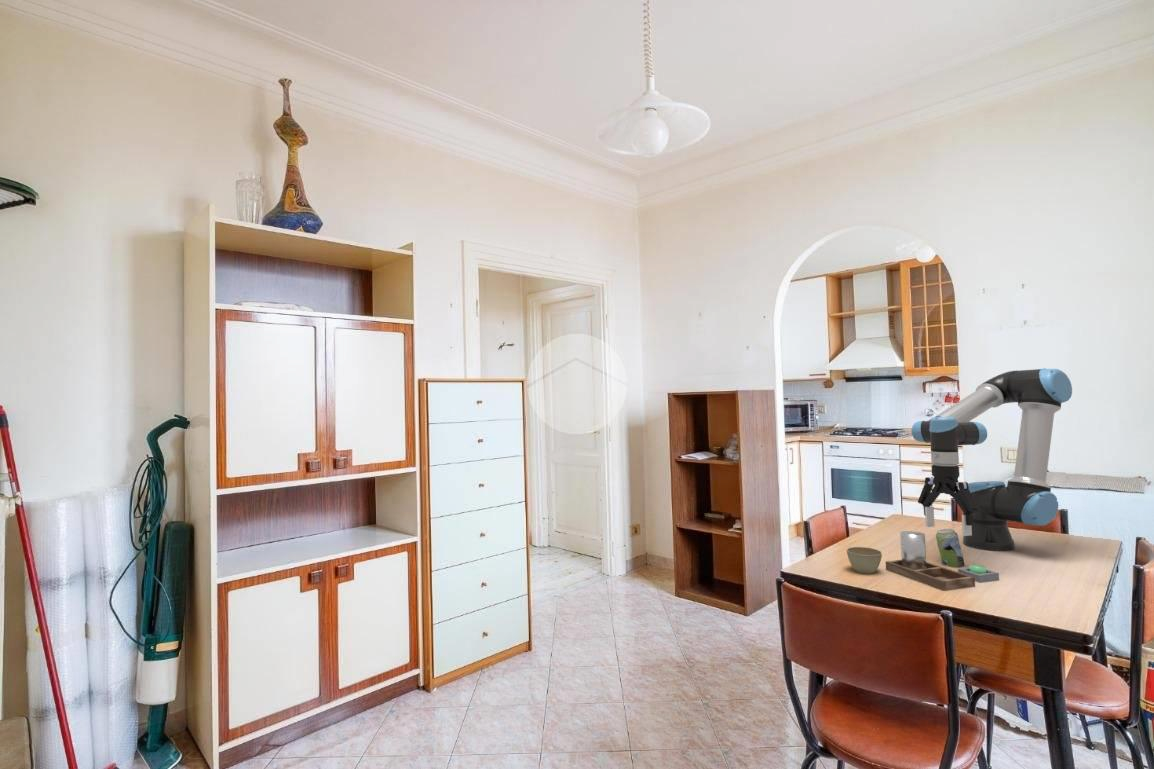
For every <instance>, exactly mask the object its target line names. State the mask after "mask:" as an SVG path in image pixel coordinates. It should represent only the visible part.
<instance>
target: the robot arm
mask: <svg viewBox="0 0 1154 769" xmlns="http://www.w3.org/2000/svg"><path fill="white" fill-rule="evenodd" d="M1072 385H1073V384H1072V382H1071V380H1070V378H1069V376H1068V374H1066V373H1065V371H1063V370H1061V369H1058V368H1045V367H1043V368H1037V369H1036V368H1035V369H1024V370H1010V371H1006V372H1003V373H999V374H998V375H996V376H993V377H992V378H989V379H988V380H985V381H984V382H982V383H981V384H979V385H978V386H977V387H976V389H975V391H973V392H972V393H971V394H969V395H967V396H966V397H964V398H962V399H960V400H959V401H958V402H956V403H954V404H953V405H951V406H950V407H948V408H946V409H945V410H943V411H941V412H940V413H939V414H936V415H935V416H933V417H931V418H930V419H929V420H922V421H921V420H919V421H915V422H914V423H913V425H912V426H911V435H912V438H913V439H914V441H916V442H919V443H920V442H921V443H926V444H930V457H931V458H930V461H931V463H932V465H931V476H929V477H925V478H924V485H923V488H922V490H921V493H920V495H919V497H918V500H917V503H918V504H921V506H923V515H924V516H925V527H927V528H930V527H933V528H934V527H935V510H934V509H935V508H934V502H935V501H936V500H937V498H938V497H939V496H940V495H941V494H945V495H949V496H950V497H952V498H953V500H954V501H955V503H956V504H957V505H958V507H959V508H960V510H961V511H962V514H961V529H962V530H961V531H962V542H963V545H965V546H966V547H967V546H968V547H972V548H974V549H978V550H979V549H980V550H988V551H1011V550H1014V549H1015V548H1016V547H1015V540H1014V538H1013V536H1012V534H1011V532H1010V529H1009V526H1008V521H1010V522H1015V523H1021V524H1025V525H1027V526H1040V527H1041V526H1047V525H1048V524H1050V523H1051V522H1053V521H1054V519H1055V518H1056V516H1057V515H1058V514H1057V513H1058V510H1059V501H1058V498H1057V496H1056V495H1055V494H1054V493H1052V492H1051V489H1052V487H1051V486H1050V485H1049V484H1048V483H1047V474H1048V473H1047V472H1048V468H1049V460H1050V458H1049V457H1050V450H1051V445H1052V444H1051V443H1052V435H1053V428H1054V417H1055V414H1056V413H1057V412H1059V411H1060V410H1061V409H1062V407H1061V406H1062V403H1067V402H1068V401H1069V400H1070V399H1071V397H1072V395H1073V386H1072ZM1013 403H1017V406H1018V407H1019V408H1020V409H1021V410H1022V411H1021V420H1020V427H1019V434H1018V443H1017V451H1016V457H1015V464H1014V465H1015V466H1014V473H1013V477H1012V478H1010V479H1009V480H1007V482H1006V483H1007V484H1005V482H1004V481H1001V480H999V481H996V480H995V481H993V480H992V481H991V480H990V481H975V482H969V483H968V482H967V481H962V482H961V481H959V478H960V466H959V464H960V459H959V458H960V457H959V446H976V445H981V444H983V443H984V442H985V441H987V437H988V431H987V428H986V426H985V425H984V424H982V423H980V422H978V421H972V420H974V419H976V418H977V417H978V416H979V417H980V415H982V414H983V413H985V412H987V411H988V410H989V409H991V408H998V407H1000V406H1001V405H1003V404H1013Z"/></svg>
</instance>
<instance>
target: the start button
mask: <svg viewBox="0 0 1154 769" xmlns="http://www.w3.org/2000/svg"><path fill="white" fill-rule="evenodd" d="M969 567H970V571H971V572H974V573H977V574H983V573H986V569H987V567H986V566H984V565H979V564H970V565H969Z"/></svg>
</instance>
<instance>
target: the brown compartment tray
mask: <svg viewBox="0 0 1154 769" xmlns="http://www.w3.org/2000/svg"><path fill="white" fill-rule="evenodd" d="M926 563H927V569H919V570H912V569H909V568H906V567H903V566H902V559H894V560H886V561H885V570H886V571H889V572H890V573H891V572H892V573H894V574H897V575H900V576H903V577H905V578H908V579H910V580H913V581H916V582H917V583H918V582H919V583H922V584H924V585H927V586H929V587H931V588H935V589H938V590H940V591H943V592H946V591H950V590H951V591H952V590H960V589H966V588H973V587H976V581H975V577H972V576H969V575H966V574H963V573H959V572H958V571H956V570H954V569H953V570H952V569H949V568H946V567H944V566H940V565H938V564H935V563H931V562H928V561H926Z"/></svg>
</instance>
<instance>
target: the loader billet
mask: <svg viewBox="0 0 1154 769" xmlns="http://www.w3.org/2000/svg"><path fill="white" fill-rule="evenodd" d="M925 534H926V533H923V532H921V531H913V530H903V531H900V534H899V536H900V556H901V560H902V566H903V567H906V568H909V569H912V570H919V569H927V563H926V562H927V546H926V535H925Z"/></svg>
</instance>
